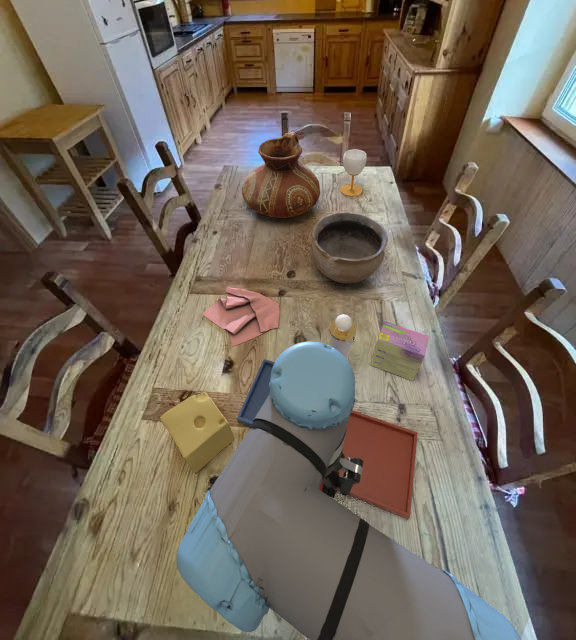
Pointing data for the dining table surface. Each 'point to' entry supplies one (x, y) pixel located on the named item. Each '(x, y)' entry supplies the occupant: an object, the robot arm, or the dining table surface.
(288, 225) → the dining table surface
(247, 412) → the blue tray
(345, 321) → the perfume bottle
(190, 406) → the cheese
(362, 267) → the ceramic bowl
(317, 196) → the jug
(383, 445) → the red tray
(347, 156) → the cup
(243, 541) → the robot arm
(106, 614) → the dining table surface
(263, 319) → the cloth
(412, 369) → the box
